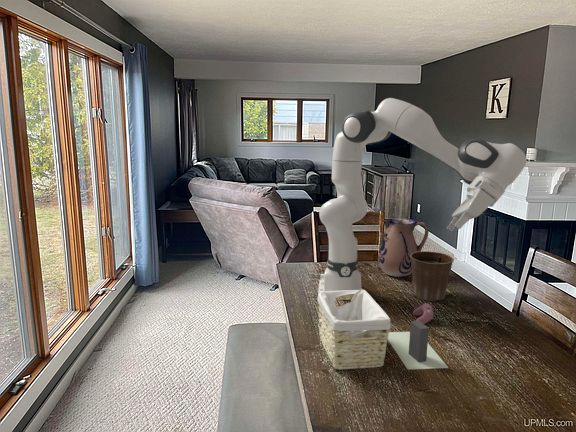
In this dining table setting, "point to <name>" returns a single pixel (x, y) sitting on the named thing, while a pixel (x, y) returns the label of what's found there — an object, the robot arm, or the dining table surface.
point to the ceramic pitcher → (399, 246)
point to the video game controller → (424, 313)
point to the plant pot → (430, 274)
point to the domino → (418, 341)
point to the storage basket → (353, 329)
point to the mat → (402, 349)
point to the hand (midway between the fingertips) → (452, 229)
